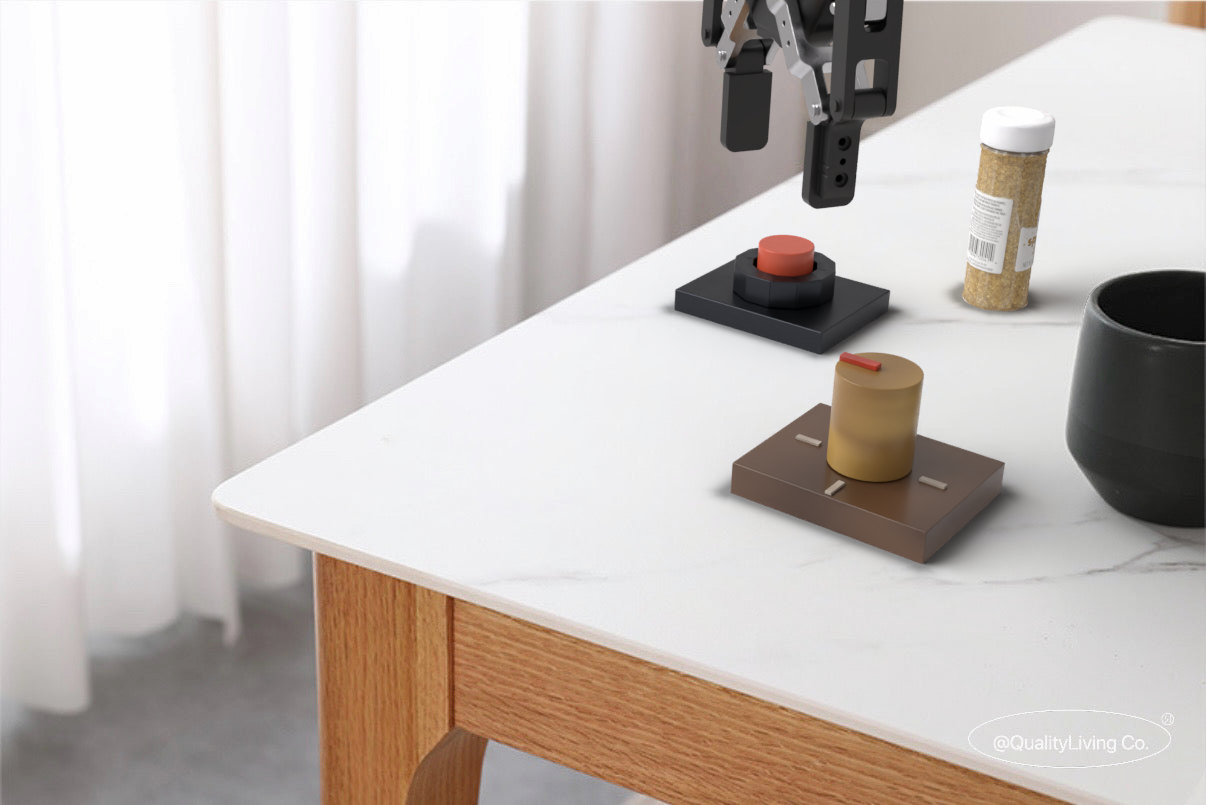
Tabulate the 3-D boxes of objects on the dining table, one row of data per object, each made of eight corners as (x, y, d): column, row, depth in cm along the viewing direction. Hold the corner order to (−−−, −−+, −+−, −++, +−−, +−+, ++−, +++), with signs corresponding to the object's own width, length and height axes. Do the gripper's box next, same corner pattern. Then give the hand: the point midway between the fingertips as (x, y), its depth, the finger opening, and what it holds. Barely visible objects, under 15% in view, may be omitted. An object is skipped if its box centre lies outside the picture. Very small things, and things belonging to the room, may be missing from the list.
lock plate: (999, 504, 82) (1006, 459, 81) (921, 577, 76) (927, 529, 74) (816, 441, 88) (820, 399, 87) (729, 504, 81) (732, 459, 80)
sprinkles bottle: (1039, 318, 104) (1069, 121, 98) (976, 323, 103) (1003, 125, 97) (1007, 293, 108) (1035, 102, 102) (946, 297, 107) (971, 105, 101)
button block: (887, 320, 104) (893, 264, 102) (819, 365, 97) (824, 305, 95) (746, 280, 109) (750, 226, 108) (673, 320, 103) (675, 263, 101)
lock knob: (927, 458, 81) (939, 362, 79) (887, 491, 78) (899, 391, 75) (852, 433, 83) (862, 339, 81) (810, 464, 80) (819, 367, 78)
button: (822, 268, 102) (825, 242, 101) (794, 284, 99) (796, 258, 99) (775, 255, 104) (777, 230, 103) (746, 270, 101) (748, 245, 101)
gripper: (985, -189, 59) (937, 218, 66) (812, -222, 71) (787, 125, 78) (807, -185, 57) (777, 237, 64) (659, -220, 69) (648, 138, 76)
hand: (783, 175), depth 71 cm, fingers open, 8 cm apart
